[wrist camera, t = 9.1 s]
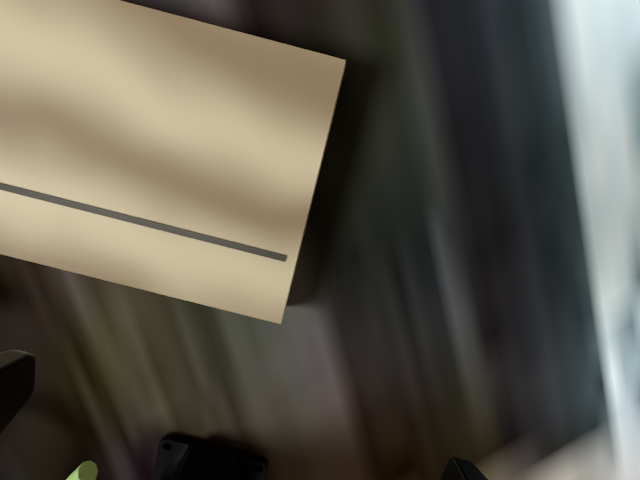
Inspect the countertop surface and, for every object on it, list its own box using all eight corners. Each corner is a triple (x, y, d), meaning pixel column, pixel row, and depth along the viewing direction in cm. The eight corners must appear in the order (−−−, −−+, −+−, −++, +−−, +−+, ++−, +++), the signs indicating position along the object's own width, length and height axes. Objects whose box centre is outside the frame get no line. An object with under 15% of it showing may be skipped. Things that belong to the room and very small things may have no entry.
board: (286, 306, 21) (280, 324, 19) (-241, 173, 20) (-306, 178, 18) (345, 68, 17) (346, 59, 15) (-281, -98, 17) (-364, -129, 15)
